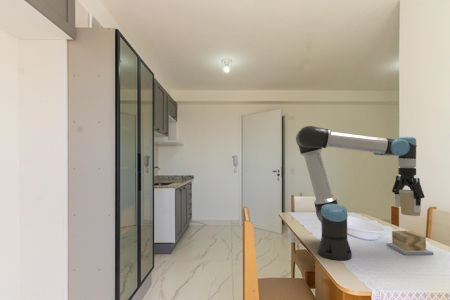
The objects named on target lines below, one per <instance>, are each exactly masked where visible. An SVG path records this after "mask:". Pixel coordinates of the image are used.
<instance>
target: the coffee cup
mask: <svg viewBox="0 0 450 300" xmlns="http://www.w3.org/2000/svg"><path fill="white" fill-rule="evenodd" d="M399 197H400V206H401V207H400V213H401V215H403V216H411V217H412V216H413V217H419V216H421V211H420V212H413V198H414V193H413V191H411V190H410V189H403V190H399ZM421 206H422V204H421V205H420V210H421V208H422V207H421Z"/></svg>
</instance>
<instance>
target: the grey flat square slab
mask: <svg viewBox="0 0 450 300" xmlns="http://www.w3.org/2000/svg"><path fill="white" fill-rule="evenodd" d="M385 244H386V246H387V248H388V247H389V249H390V248H391V249H392V250H393V251H396V252H398V253H399V254H401V255H402V256H434V252H433V251H431V250H428V249H426V251H404V250H402V249H401V248H399V247H397V246H395V245H393V244H392V243H390V242H387V243H385Z"/></svg>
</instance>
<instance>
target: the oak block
mask: <svg viewBox="0 0 450 300" xmlns="http://www.w3.org/2000/svg"><path fill="white" fill-rule="evenodd" d="M391 231H392V232H391V235H392V237H391V238H392V239H391V242H392V244H393V245H395V246H397V247H399V248H401V249H402V250H404V251H426V250H427V242H426V241H427V240H426V238H427V236H425V235H423V234H420V233H418V232H414V231H412V230H391Z"/></svg>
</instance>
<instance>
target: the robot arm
mask: <svg viewBox="0 0 450 300" xmlns="http://www.w3.org/2000/svg"><path fill="white" fill-rule="evenodd" d="M295 141H296V144H297V145H298V150H299V153H300V155H301V156H303V157H304V159H305V163H306V167H307V171H308V175H309V179H310V181H311V186H312V189H313V192H314V196H315V200H314V202H313V205H314V207H315V213H316V215H315V216H316V217H317V219H318V220H319V221H320V224H321V237H320V240H319V244H318V247H317V254H319V256H321V257H322V258H325V259H329V260H335V261H347V260H348V261H349V260H350V259H352V257H353V255H352V249H351V246H350V244H349V241H348V240H349V239H348V216H349V215H348V210H347V208H346V207H345V206H343V205H340V204H338V200H337V198H336V197H335V196H333V193H332V189H331V186H330V183H329V179H328V176H327V171H326V169H325V168H326V167H325V165H324V161H323V157H322V154H321V153H322V151H323V149H328V147H329V148H336V149H337V148H338V149H345V150H354V151H362V152H369V153H373V155H375V156H398V158H397V159H398V162H397V164H398V167H397V168H398V171H397V172H398V175H396V176H395V180H394V184H393V186H392V188H391V190H392V191H391V192H392V193H393V194H394V201H395V202H394V206H395V207H399V208H401V206H400V197H399V190H404V188H405V186H406V187H408V188H409V190H411V191H413V193H414V198H413V212H420V213H421V209H420V205H421V206H422V199H425V194H424V190H423V188H422V186H421V183H420V182H421V181H420V178H419V177H415V176H417V168H416V167H417V147H418V146H417V138H416V137H414V136H402V137H399V138H397V139H396V138H389V137H388V138H387V137H380V136H379V137H378V136H370V135H365V134H364V135H363V134H354V133H349V132H348V133H347V132H339V131H331V129H330V128H324V127H318V126H313V125H306V126H303V127H302V128H301V129H300V130H299V131H298V132H297V134H296V136H295Z"/></svg>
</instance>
